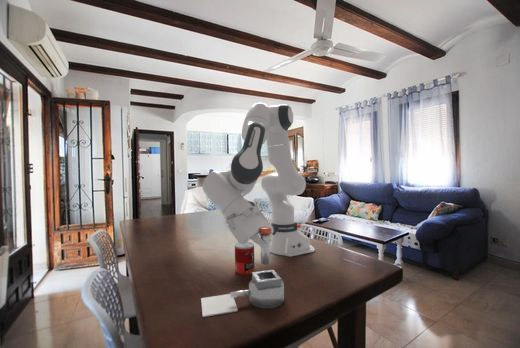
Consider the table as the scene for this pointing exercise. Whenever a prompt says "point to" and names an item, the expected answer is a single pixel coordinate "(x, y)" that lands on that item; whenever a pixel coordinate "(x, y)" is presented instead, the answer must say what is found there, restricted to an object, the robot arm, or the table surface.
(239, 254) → the canned food
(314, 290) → the table surface
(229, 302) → the rubber mat
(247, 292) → the square socket stand
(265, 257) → the red capped grey cylinder
